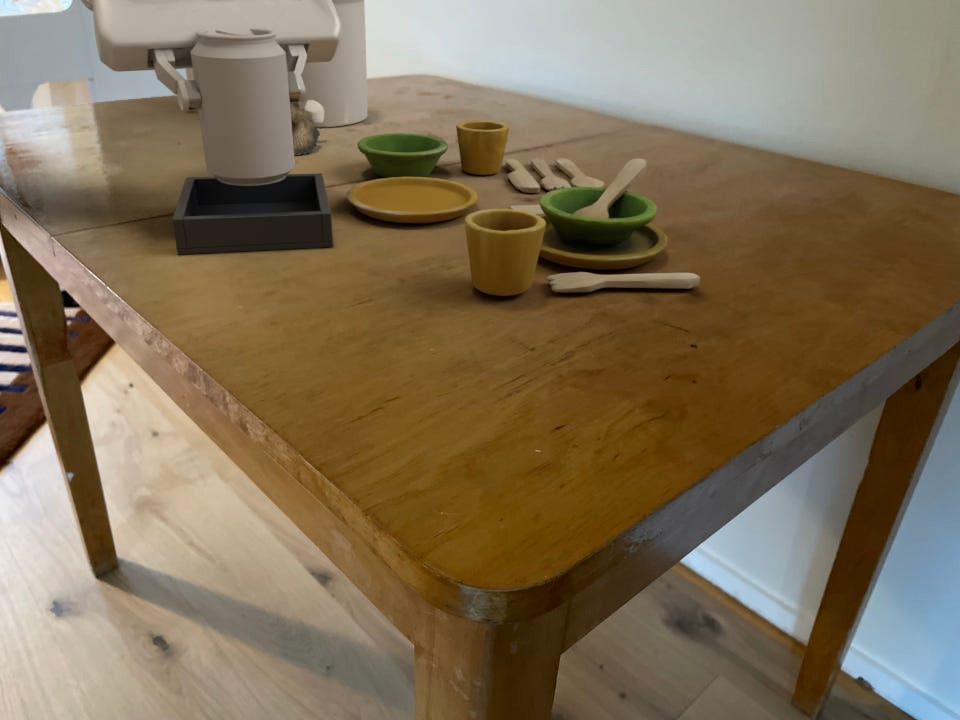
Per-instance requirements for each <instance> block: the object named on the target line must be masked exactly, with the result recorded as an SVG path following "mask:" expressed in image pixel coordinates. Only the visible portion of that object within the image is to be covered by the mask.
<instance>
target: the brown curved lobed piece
mask: <svg viewBox="0 0 960 720" xmlns="http://www.w3.org/2000/svg"><path fill="white" fill-rule="evenodd" d="M290 111H291V123H292V135H293V148H294V156H300V155H302V154H303V155H306V154H308V153H311V152H313V150H314V149H316V147H317V143H318V139H319V137H320V136H321V135H320V131H319V130H318V127H315V126H314V125H313V123H318V124H320V123H323V121H324V114H325V112H324V109H323V106H322V105H321V104H320V103H318V102H316V101H314V100H307V102H306V104H305V107H304V109H303V110H302V111H301V109H300V106H299V104H298V103H290ZM311 122H312V123H311Z"/></svg>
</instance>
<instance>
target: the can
mask: <svg viewBox="0 0 960 720" xmlns="http://www.w3.org/2000/svg"><path fill="white" fill-rule="evenodd" d="M250 30H251V31H252V32H253V33H254V34H255V35H238V34H233V33H228V32H223V31H217V30H215V33H220V34H225V35H231V36H220V35H209V34H207V33H208V32H209V30H208V29H204V30H199V31H197V32H196V35H197V36H198V37H199V41H198V42H197V43H196V45H195V46H194V48H193V49H192V50H191V59H192V66H193V73H194V80H195V81H196V83H197V86H198V91H200V94H201V99H202V103H201V104H200V106H201V108H200V109H198V110H197V111H198V116H199V124H200V131H201V132H200V133H201V139H202V145H203V152H204V153H203V154H204V160H205V168H206V171H207V172H208V173H209V174H211V176H215V177H216V178H217V180H219V181H220V182H222V183H226V184H229V185H237V186H257V185H266V184H272V183H275V182H279V181H281V180H283V179H285V178H286V176H287V174H290V173H291V172H292V171H293V169H294V168H295V167H296V162H295V155H294V148H293V135H292V123H291V111H290V99H289V87H288V74H287V62H286V52H285V51H284V50H283V49H282V48H281V47H280V46H279V45H278V43H277V42H276V41H275V36H276V33H275V32H274V31H271V30H266V29H257V28H250Z"/></svg>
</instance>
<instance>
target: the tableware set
mask: <svg viewBox="0 0 960 720" xmlns="http://www.w3.org/2000/svg"><path fill="white" fill-rule="evenodd" d="M455 129H456V135H457V143H458V144H457V145H458V151H459V159H460V166H461V170H462V171H464V172H465V173H466V174H467V173H468V174H471V175H477V176H489V175H490V176H491V175H494V174H495V175H496V174H498V173H499V172H500V171H501V170H502V166H503V161H504V157H505V151H506V147H507V142H508V137H509V131H510V126H509V125H508V124H507V123H504V122H501V121H496V120H465V121H460V122H458V123H457V124H456V127H455ZM356 145H357V149H358V150H359V152H361V153H362V154H363V155H364V156H365V158H366V160H367V161H368V163H369V164H370V166H371V168H372V169H373V171H374V173H375V174H377V176H379V177H381V178H376V179H371V180H367V181H363V182H361V183H357V184H355V185H354V186H353V185H352V187H350V188H349V189H348V190H347V192H346V195H345V197H346V199H347V201H348V202H349V203H350V204H351V206H352V207H355V209H356V210H357V211H358V212H360V213H361V214H363V215H365V216H366V217H370V218H373V219H376V220H380V221H384V222H391V223H400V224H429V223H438V222H445V221H449V220H452V219H455V218H458V217H461V216H462V215H464V214H466V213H467V212H468V211H469V210H470V209H471V208H472V207H474V205H475V204H476V203H477V201H478V200H479V195H478V193H477V192H476V190H475V189H473V188H471V187H470V186H468V185H465V184H463V183H460V182H457V181H453V180H449V179H444V178H437V177H429V176H430V174H431V173H432V172H433V170H434V169H435V168H436V165H437V164H438V162H439V160H440V159H441V157H442V156H443V155H444V154H446V152H447V151H448V149H449V144H448V142H446V141H445V140H443V139H442V138H438V137H435V136H431V135H425V134H418V133H406V132H405V133H403V132H402V133H400V132H399V133H397V132H395V133H394V132H393V133H382V134H375V135H370V136H366V137H363V138H362V139H360V140H358V142H357V144H356ZM556 164H557V165H558V166H557V165H556ZM530 166H531V167H532V168H533V169H534V170H535V172H536V173H537V174H538V175H539V176H540V177H541V180H540V182H539V183H540V184H539V183H538V182H537V180H536V179H535V178H534V177H533V176H532V175H531V174H530V173H529V172H528V170H527V169H526V168H525V167H524V166H523V165H522V164H521V162H520V161H518V160H517V159H513V158H508V159H506V160H505V167H506V168H507V169H508V170H509V171H510V172H509V173H508V174H507V178H508V180H509V181H510V183H511V184H512V186H514V187H515V188H516V189H517V190H519V191H521V192H522V193H524V194H525V193H526V194H539V193H540V192H541V188H542V189H544V190H546V191H548V192H545V194H543V195H541V197H540V199H539V204H518V205H514V204H513V205H510V206H509V208H487V209H480V210H477V211H473V212H471V213H469V214H467V215H466V216H465V217H464V221H463V222H464V228H465V237H466V245H467V252H468V261H469V269H470V277H471V284H472V286H473V287H474V288H475V289H476V290H478V291H480V292H481V293H484V294H488V295H490V296H491V295H492V296H497V297H511V296H517V295H520V294H523V293H525V292H526V291H529V290H530V288H531V286H532V285H533V281H534V277H535V274H536V269H537V265H538V260H539V257H540V258H543V259H545V260H547V261H549V262H553V263H555V264H559V265H562V266H566V267H571V268H572V267H573V268H578V269H586V270H597V271H598V270H600V271H602V270H604V271H608V270H609V271H612V270H624V269H629V268H634V267H639V266H641V265H644V264H646V263H648V262H650V261H651V260H652V259H653V258H654V257H656V256H658V255H659V254H660V253H661V252H662V251H664V249H665V248H666V247H667V245H668V236H667V235H666V233H664V232H663V231H662V230H661V229H660V228H658V227H656V226H655V225H654V224H652V223H650V222H652V221H653V220H654V218H655V217H656V216H657V214H658V211H659V208H658V206H657V205H656V204H655V203H654V202H653V201H652V200H650V199H649V198H647V197H644V196H643V195H640V194H638V193H634V192H631V191H628V190H629V189H630V187H631V186H632V185H633V184H634V183H635V182H637V181H638V180H639V179H640V178H641V176H643V175H644V173H645V172H646V170H647V166H648V165H647V160H645V159H644V158H640V157H639V158H638V157H637V158H631V159H630V160H628V161H627V163H626V164H624V166H623V167H622V168H621V170H620V171H619V172H618V174H617V175H616V176H615V178H614V179H613V180H612V181H611V182H610V184H609V185H608V187H604V186H605V183H604V181H603V180H601V179H599V178H595V177H591V176H589V175H588V176H587V175H585V173H583V172H582V171H581V170H580V168H579V167H578V166H577V165H576V164H575V163H574V162H573V161H572V160H571V159H570V158H569V159H568V158H563V157H562V158H561V157H560V158H556V159H555V167H556V168H557V169H558V170H560V171H561V172H563V174H565V175H566V176H568V177H569V178H570V181H569V182H568V180H566V179H564V178H561V177H558V176H556V175H555V174H554V173H553V171H552V170H551V168H550V167H549V165H548V163H547V162H546V160H544V159H543V158H531V159H530ZM561 168H562V169H561ZM565 171H566V172H567V173H566V172H565ZM546 280H547V282H548V283H549V286H550V287H551V290H552V291H553V292H554V293H592V292H594V291H597V290H600V289H605V288H606V289H607V288H615V289H617V288H619V289H621V288H622V289H623V288H624V289H625V288H626V289H627V288H628V289H630V288H631V289H684V290H685V289H692V288H695V287H697V286H699V285H700V281H701V276H700V275H698V274H696V273H694V272H660V273H659V272H657V273H656V272H655V273H624V274H623V273H621V274H598V273H592V272H588V271H577V272H575V271H574V272H562V273H557V274H556V273H555V274H550V275H547V277H546Z"/></svg>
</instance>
